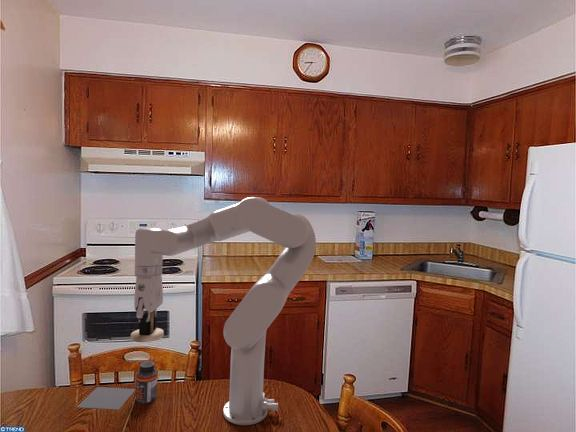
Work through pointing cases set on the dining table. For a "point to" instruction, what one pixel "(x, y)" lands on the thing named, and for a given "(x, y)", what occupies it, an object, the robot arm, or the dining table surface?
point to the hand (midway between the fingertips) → (147, 331)
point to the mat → (106, 398)
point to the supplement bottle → (146, 383)
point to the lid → (148, 338)
